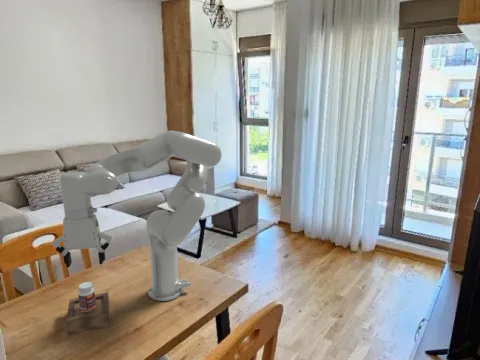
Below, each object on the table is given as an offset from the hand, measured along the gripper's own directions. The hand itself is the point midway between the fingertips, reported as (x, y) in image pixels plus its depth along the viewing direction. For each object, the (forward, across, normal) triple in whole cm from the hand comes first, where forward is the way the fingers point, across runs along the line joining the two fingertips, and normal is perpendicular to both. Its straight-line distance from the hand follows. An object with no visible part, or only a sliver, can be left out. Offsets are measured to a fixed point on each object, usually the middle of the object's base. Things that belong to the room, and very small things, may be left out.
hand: (85, 263), depth 109 cm
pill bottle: (+16, +1, 0) cm, 16 cm away
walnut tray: (+20, +1, 0) cm, 20 cm away
